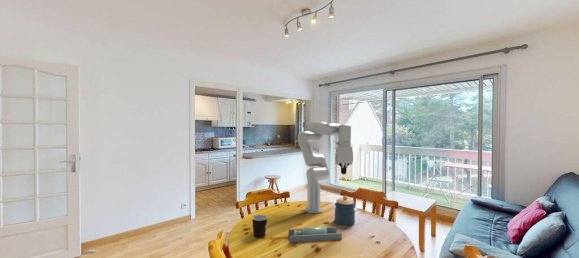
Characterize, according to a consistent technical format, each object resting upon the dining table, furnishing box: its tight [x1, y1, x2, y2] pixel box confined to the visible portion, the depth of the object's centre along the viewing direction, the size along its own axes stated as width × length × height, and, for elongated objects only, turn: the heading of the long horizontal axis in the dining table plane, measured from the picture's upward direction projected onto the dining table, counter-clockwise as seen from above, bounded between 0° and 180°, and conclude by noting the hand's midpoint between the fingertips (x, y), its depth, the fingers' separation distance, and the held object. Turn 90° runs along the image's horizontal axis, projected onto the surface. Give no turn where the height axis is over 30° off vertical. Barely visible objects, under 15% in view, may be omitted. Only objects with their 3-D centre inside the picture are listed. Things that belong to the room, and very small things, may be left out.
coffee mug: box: [251, 214, 268, 239], centre depth 135 cm, size 12×9×10 cm
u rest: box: [288, 226, 343, 245], centre depth 131 cm, size 9×28×4 cm, turn 100°
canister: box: [333, 195, 356, 227], centre depth 153 cm, size 13×13×18 cm
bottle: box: [294, 226, 327, 235], centre depth 131 cm, size 5×5×18 cm
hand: (343, 173), depth 146 cm, fingers closed
